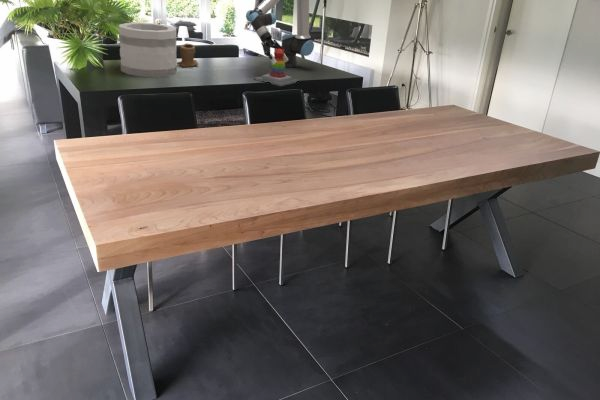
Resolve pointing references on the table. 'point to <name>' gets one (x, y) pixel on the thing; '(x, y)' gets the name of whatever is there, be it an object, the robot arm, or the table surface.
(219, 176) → the table surface
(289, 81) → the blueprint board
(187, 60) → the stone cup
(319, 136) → the table surface
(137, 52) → the storage basket
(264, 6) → the robot arm
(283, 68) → the stacking bear
